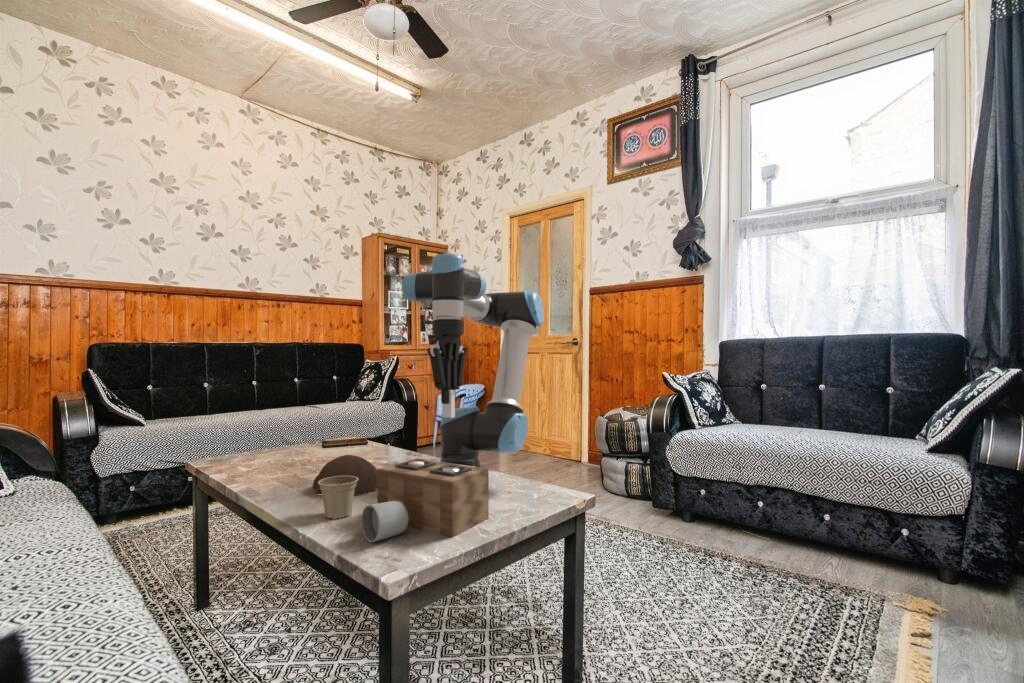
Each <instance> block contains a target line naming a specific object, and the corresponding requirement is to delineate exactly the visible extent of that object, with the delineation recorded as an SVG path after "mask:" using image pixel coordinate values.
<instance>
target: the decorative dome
mask: <svg viewBox="0 0 1024 683" xmlns="http://www.w3.org/2000/svg"><path fill="white" fill-rule="evenodd" d="M334 476H355V477H357V478H358V481H357V483H356V487H355V491H354V497H356V495H357V496H359V494H360V495H362V493H363V494H369V493H368V492H370V493H374V492H375V491H376V490H378V468H376V466H375V465H374V464H372V463H371V462H370V461H368V460H367V459H366V458H363V457H362V456H358V455H354V454H353V455H351V454H345V455H340V456H338V457H336V458H333V459H332V460H330V461H328V462H327V463H326V464H325V465H324V466H323V467H322V468H321V469H320V472H319V473H318V474H317V475H316V477H315V478H314V481H313V483H312V490H313V489H314V490H313V491H315V490H316V491H315V493H314V495H315V494H322V491H321V489H320V485H319V484H318V482H319V481H320V480H321V479H324V478H329V477H334Z"/></svg>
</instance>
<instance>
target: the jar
mask: <svg viewBox="0 0 1024 683" xmlns="http://www.w3.org/2000/svg"><path fill="white" fill-rule="evenodd" d="M444 462H447V463H454V464H461V465H467V466H474V465H475V464H474V457H472V456H469V455H453V456H448V457H445V458H444ZM474 467H475V466H474Z"/></svg>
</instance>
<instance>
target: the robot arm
mask: <svg viewBox="0 0 1024 683" xmlns="http://www.w3.org/2000/svg"><path fill="white" fill-rule="evenodd" d="M431 263H432V264H431V271H430V272H428V271H427V272H414V273H408V274H406V275H405V276H404V278H403V279H402V282H401V284H402V286H401V290H402V291H401V292H402V294H403V296H404V298H405V299H406V300H407V301H408V302H426V303H429V304H432V318H434V319H433V320H432V321H431V323H432V324H431V325H432V326H431V327H432V328H431V329H432V332H431V333H432V335H433V336H435V339H434V343H433V344H434V345H433V346H432V347H428V348H427V354H428V356H429V358H430V364H431V371H432V377H433V384H434V387H435V388H437V390H438V391H440V392H441V393H440V394H441V398H440V400H441V401H440V402H441V404H442V405H441V410H442V411H441V416H440V424H439V426H440V459H439V460H440V462H444V458H445V457H448V456H453V455H469V456H472V457H474V464H475V465H474V466H475V467H481V468H483V467H482V463H481V460H480V457H479V454H480V453H479V451H480V452H494V453H495V452H496V453H501V454H507V453H509V454H510V453H511V454H513V453H514V454H515V453H517V452H518V451H520V450H521V448H523V446H524V444H525V443H526V440H527V436H528V432H529V426H528V424H529V421H528V420H529V419H528V418H527V415H526V414H524V408H522V406H521V404H520V402H521V399H522V398H521V396H522V393H523V386H524V385H523V383H524V379H525V377H524V376H525V371H526V367H527V366H526V364H527V359H528V352H529V345H530V339H531V337H532V336H534V335H535V334H536V330H537V327H541V326H542V325H543V324H544V321H545V312H544V306H543V302H542V298H541V296H540V295H539V293H537V292H536V291H532V290H528V291H527V290H523V291H509V292H507V291H506V292H491V293H486V290H487V281H486V278H485V277H484V276H483V274H481V273H479V272H477V270H471V269H468V268H465V264H464V258H463V257H462V256H461V255H460V254H455V253H438V254H435V255H434V256H433V258H432V262H431ZM464 317H466V318H467V319H468V320H471V321H473V322H476V323H480V324H483V325H485V326H486V325H487V326H490V327H498V328H499V327H500V328H501V330H502V331H503V338H502V344H501V349H500V355H499V360H498V366H497V371H496V376H495V377H496V378H495V381H494V387H493V392H492V397H491V398H492V399H491V400H489V402H487V403H486V405H485V408H484V411H480V408H479V407H478V406H465V407H458V408H456V399H457V398H456V397H457V396H456V395H457V394H456V391H457V390H459V389H460V387H461V386H462V383H463V382H462V381H463V375H464V366H465V359H466V356H467V353H468V348H467V347H463V345H462V341H461V336H463V335H464V333H465V332H464V331H465V330H464V329H465V328H464V325H465V323H464V321H463V318H464Z"/></svg>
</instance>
